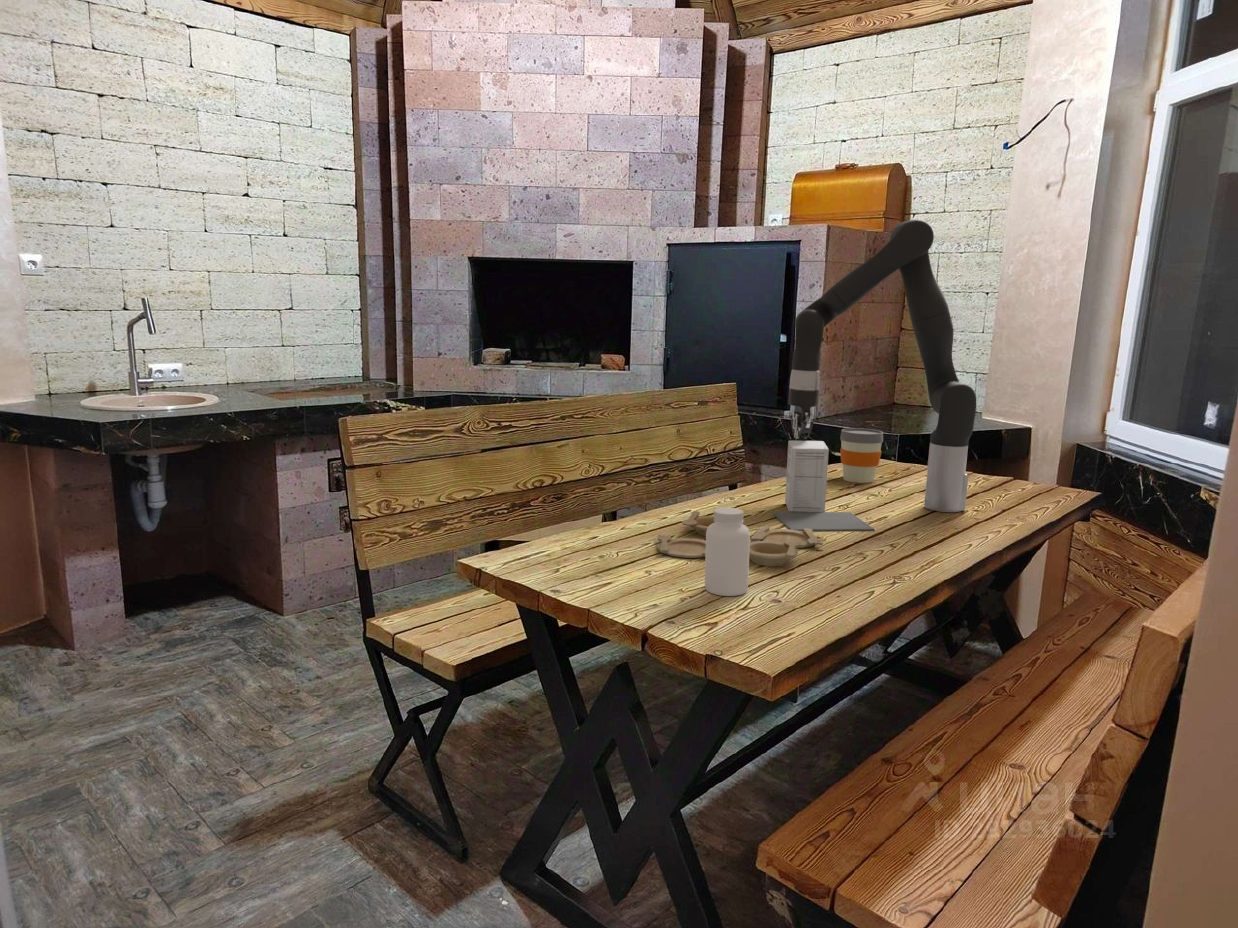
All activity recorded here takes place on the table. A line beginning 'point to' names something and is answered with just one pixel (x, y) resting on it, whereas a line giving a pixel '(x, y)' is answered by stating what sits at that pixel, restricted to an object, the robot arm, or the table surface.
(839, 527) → the mat
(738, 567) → the pill bottle
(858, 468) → the reusable coffee cup
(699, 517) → the tableware set
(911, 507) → the table surface
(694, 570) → the table surface
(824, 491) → the supplement box
